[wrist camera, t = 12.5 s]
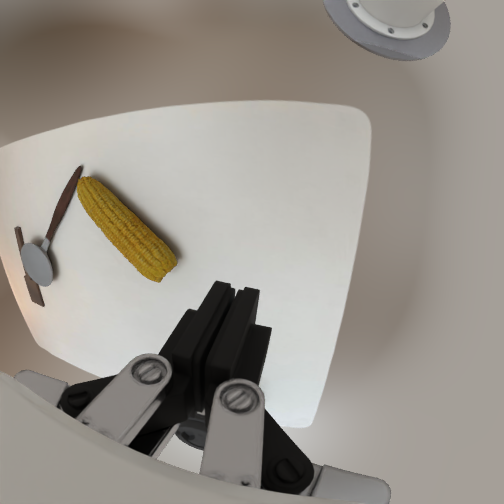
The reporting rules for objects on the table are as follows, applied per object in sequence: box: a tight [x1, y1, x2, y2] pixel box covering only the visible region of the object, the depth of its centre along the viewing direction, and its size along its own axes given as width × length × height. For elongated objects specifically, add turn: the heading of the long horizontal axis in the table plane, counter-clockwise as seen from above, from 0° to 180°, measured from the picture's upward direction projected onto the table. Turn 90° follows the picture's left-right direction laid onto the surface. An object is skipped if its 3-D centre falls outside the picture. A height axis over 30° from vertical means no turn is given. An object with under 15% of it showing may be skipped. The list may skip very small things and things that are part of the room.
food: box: [77, 177, 177, 283], centre depth 40 cm, size 21×6×6 cm, turn 49°
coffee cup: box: [175, 408, 208, 451], centre depth 48 cm, size 11×11×15 cm
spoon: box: [21, 166, 82, 287], centre depth 46 cm, size 11×33×3 cm, turn 135°
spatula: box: [14, 227, 45, 307], centre depth 55 cm, size 22×6×1 cm, turn 174°
